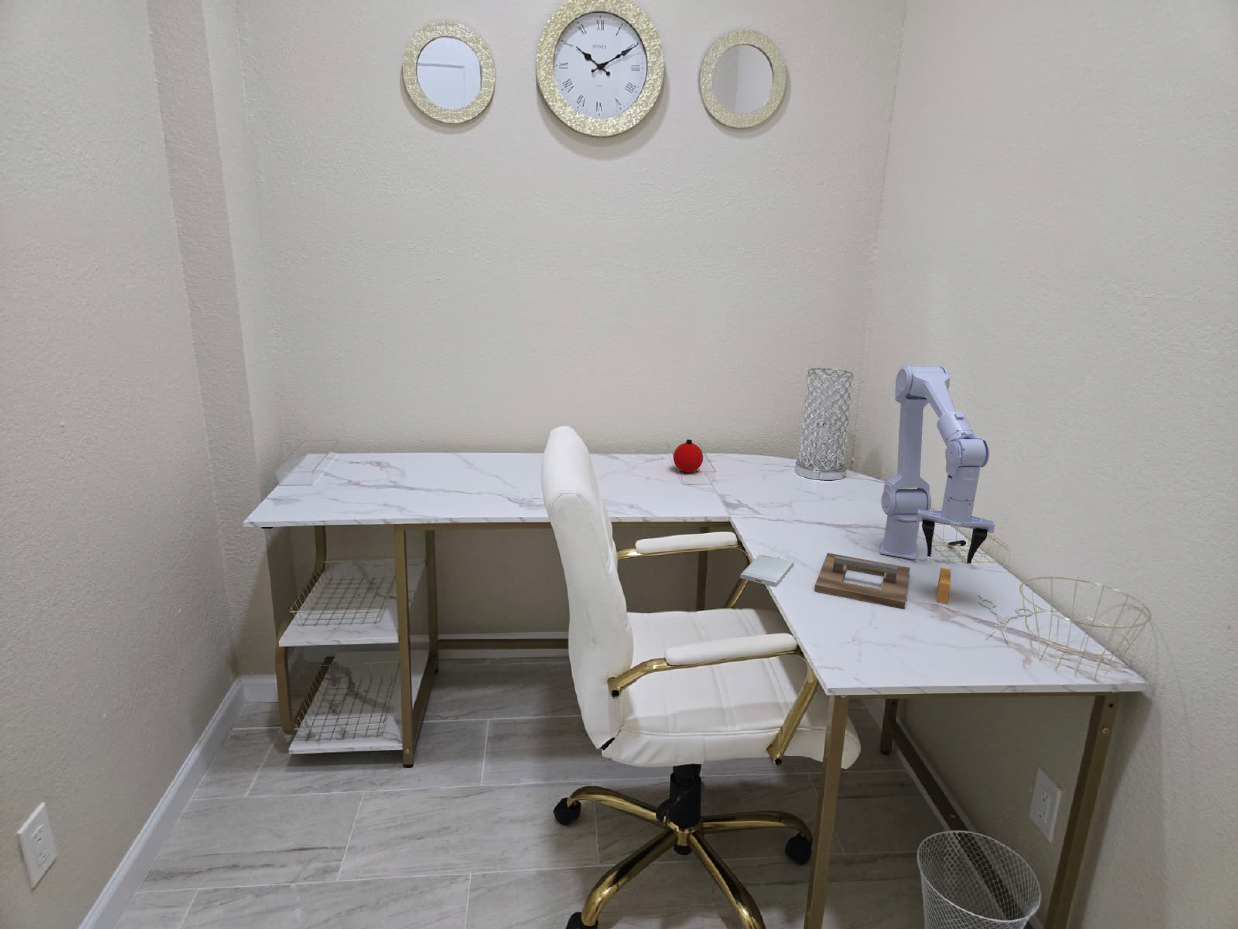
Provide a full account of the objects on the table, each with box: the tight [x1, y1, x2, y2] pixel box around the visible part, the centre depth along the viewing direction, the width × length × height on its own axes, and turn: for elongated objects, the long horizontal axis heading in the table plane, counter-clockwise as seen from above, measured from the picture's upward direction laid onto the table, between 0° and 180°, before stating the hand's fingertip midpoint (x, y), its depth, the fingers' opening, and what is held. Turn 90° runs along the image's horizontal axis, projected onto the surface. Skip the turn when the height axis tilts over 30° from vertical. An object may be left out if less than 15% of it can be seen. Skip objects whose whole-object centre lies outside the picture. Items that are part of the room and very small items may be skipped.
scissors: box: [977, 593, 1034, 637], centre depth 157 cm, size 11×1×20 cm
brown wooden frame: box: [814, 552, 911, 610], centre depth 171 cm, size 18×18×2 cm
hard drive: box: [739, 554, 795, 588], centre depth 175 cm, size 2×8×12 cm
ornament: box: [672, 438, 704, 473], centre depth 238 cm, size 9×9×10 cm
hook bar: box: [833, 556, 898, 584], centre depth 170 cm, size 2×13×3 cm, turn 68°
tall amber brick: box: [936, 567, 952, 605], centre depth 166 cm, size 8×2×4 cm, turn 158°
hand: (948, 558), depth 164 cm, fingers open, 7 cm apart
